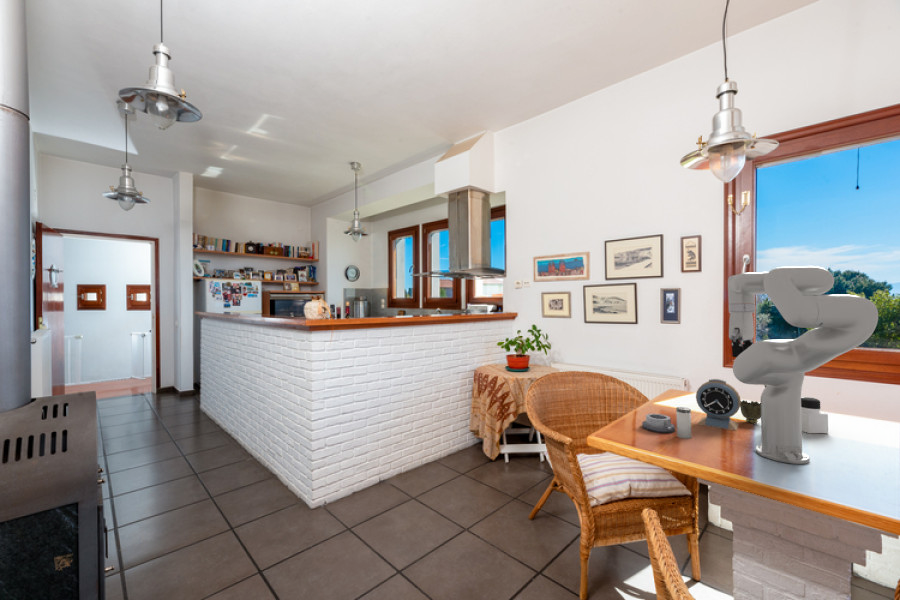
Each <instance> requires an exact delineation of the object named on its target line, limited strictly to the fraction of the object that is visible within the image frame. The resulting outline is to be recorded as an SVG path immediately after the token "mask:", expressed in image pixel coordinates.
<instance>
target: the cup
mask: <svg viewBox="0 0 900 600" xmlns="http://www.w3.org/2000/svg"><path fill="white" fill-rule="evenodd" d="M739 409H740V412H741V415H742V416H743V417H744V418H745V421H746V423H748V424H752V423H756V424H758V422H759V421H758V420H759V419H760V420H761V402H758V401H757V400H756V401H754V400H751V401H749V402H748V401H747V400H744V399H743V400H741V404H740V408H739Z"/></svg>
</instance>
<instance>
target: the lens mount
mask: <svg viewBox="0 0 900 600" xmlns="http://www.w3.org/2000/svg"><path fill="white" fill-rule="evenodd" d="M671 421H672V420H671V417H670V416H668V415H665V414H661V413H648V414H646V415H645V420H644V421H642V422H641V423H642V424H641V426H642V429H644V430H646V431H648V432H652V433H656V434H672V433H675V432H676V426H675V425H674V424H673V423H671Z"/></svg>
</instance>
